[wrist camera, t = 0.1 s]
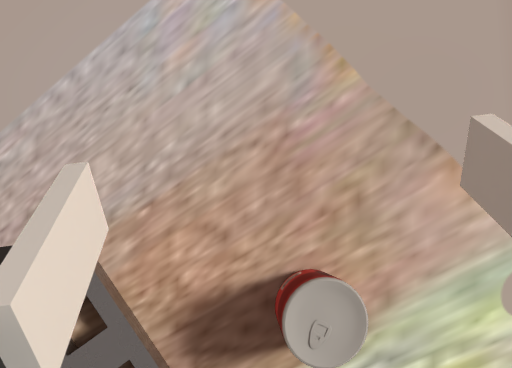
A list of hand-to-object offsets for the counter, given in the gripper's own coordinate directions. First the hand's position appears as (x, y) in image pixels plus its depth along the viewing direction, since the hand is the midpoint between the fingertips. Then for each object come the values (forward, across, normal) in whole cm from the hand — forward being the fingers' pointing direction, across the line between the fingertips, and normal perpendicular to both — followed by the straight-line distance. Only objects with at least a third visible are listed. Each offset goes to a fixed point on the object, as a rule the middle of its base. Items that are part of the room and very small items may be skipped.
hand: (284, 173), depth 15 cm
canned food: (+23, -4, +30) cm, 38 cm away
